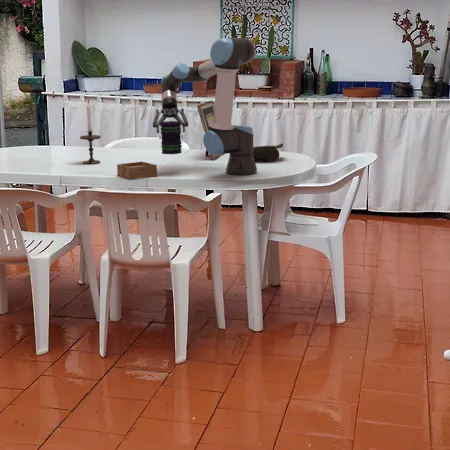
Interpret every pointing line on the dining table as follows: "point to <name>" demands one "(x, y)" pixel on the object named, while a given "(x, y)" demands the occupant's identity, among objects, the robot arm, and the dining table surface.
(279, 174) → the dining table surface
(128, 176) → the wooden box
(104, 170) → the dining table surface
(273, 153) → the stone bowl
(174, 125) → the storage jar
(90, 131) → the candlestick
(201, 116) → the picture frame
